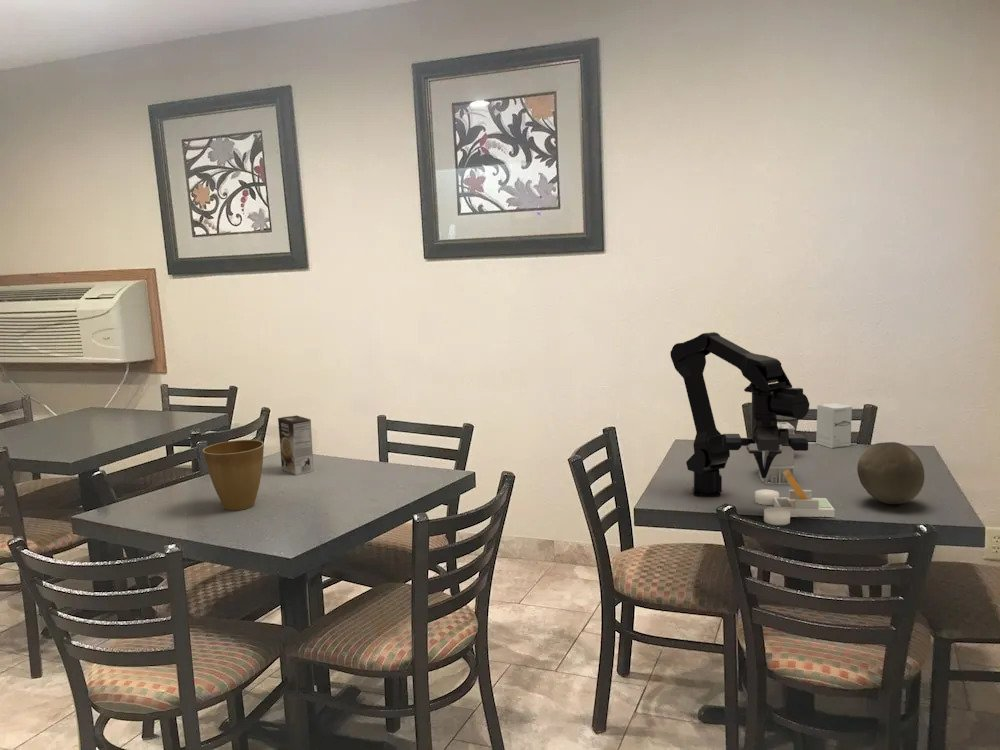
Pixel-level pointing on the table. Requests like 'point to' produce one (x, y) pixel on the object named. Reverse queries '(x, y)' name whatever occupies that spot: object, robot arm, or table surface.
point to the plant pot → (235, 471)
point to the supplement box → (834, 425)
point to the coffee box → (296, 444)
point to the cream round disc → (777, 516)
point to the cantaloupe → (891, 472)
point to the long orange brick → (794, 484)
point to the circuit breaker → (780, 461)
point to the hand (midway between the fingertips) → (763, 477)
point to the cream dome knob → (765, 496)
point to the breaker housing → (804, 505)
